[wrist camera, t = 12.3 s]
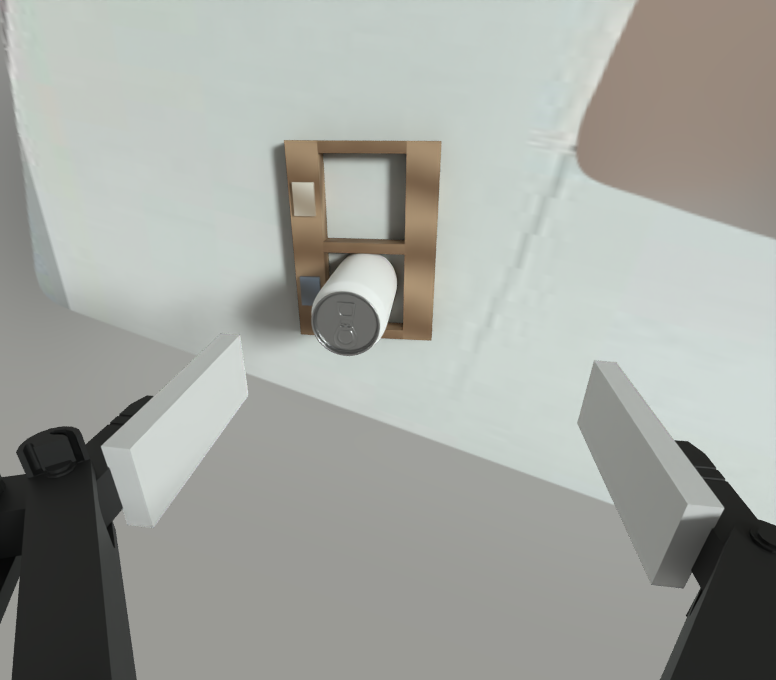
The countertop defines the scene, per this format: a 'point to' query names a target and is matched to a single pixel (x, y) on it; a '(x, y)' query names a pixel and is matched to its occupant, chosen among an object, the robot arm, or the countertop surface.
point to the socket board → (416, 247)
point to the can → (354, 304)
